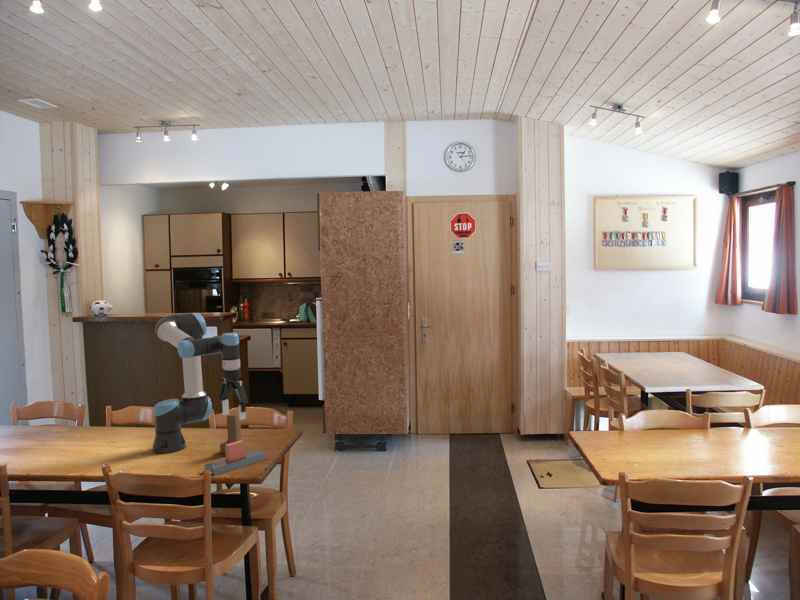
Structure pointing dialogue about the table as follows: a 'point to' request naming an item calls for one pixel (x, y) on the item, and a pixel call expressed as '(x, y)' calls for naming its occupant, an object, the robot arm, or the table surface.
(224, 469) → the rail
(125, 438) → the table surface
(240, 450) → the pink slab
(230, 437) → the wooden block
